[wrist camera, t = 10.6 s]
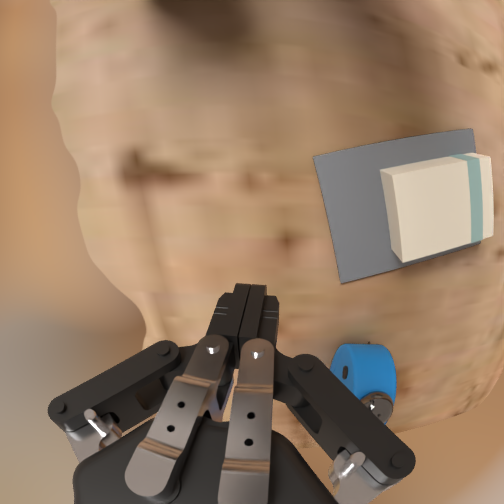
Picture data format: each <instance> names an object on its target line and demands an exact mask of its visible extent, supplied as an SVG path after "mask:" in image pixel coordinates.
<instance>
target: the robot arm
mask: <svg viewBox="0 0 504 504" xmlns="http://www.w3.org/2000/svg"><path fill="white" fill-rule="evenodd" d="M278 325H279V302H278V300H277V297H276V296H268V295H267V287H266V285H255V284H252V285H251V284H241V283H236V285H235V288H234V291H233V293H224V294H223V295H222V296H221V297H220V298H219V300H218V302H217V305H216V308H215V311H214V314H213V316H212V319H211V322H210V325H209V327H208V330H207V333H206V336H205V337H203V338H202V339H201V340H200V341H199V342H198V343H197V344H195V345H192V346H185V347H178V346H177V345H176V344H175V343H174V342H172V341H168V340H164V341H159V342H157V343H155V344H153V345H151V346H150V347H148V348H146V349H144V350H143V351H141V352H139V353H137V354H135V355H134V356H132V357H130V358H129V359H126V360H125V361H123V362H121V363H119V364H117V365H116V366H114V367H112V368H110V369H108V370H107V371H105V372H103V373H101V374H99V375H97V376H96V377H94V378H92V379H90V380H88V381H86V382H84V383H83V384H81V385H79V386H77V387H75V388H73V389H71V390H70V391H67V392H66V393H64V394H62V395H60V396H58V397H56V398H54V399H53V400H52V401H51V403H50V404H49V407H48V414H49V417H50V419H51V420H52V421H53V422H55V423H56V424H57V425H58V426H59V427H60V428H61V429H62V430H63V431H64V432H65V433H66V435H67V438H68V440H69V442H70V444H71V446H72V448H73V451H74V453H75V455H76V457H77V459H78V461H79V465H78V466H77V467H76V470H75V472H74V475H73V489H74V504H368V503H369V502H371V501H372V500H373V499H374V498H376V497H377V496H378V495H379V494H380V493H382V492H383V491H385V490H387V489H389V488H391V487H392V486H394V485H395V484H397V483H398V482H400V481H401V480H402V479H403V478H404V477H406V476H407V475H409V474H410V473H411V472H412V470H413V469H414V466H415V462H416V460H415V455H414V453H413V451H412V450H411V449H410V448H409V447H408V446H407V445H406V444H405V443H403V442H402V441H401V440H400V439H399V438H398V437H397V436H396V435H395V434H394V433H393V432H392V431H391V430H390V429H389V428H388V427H387V426H386V425H385V424H384V423H383V422H382V421H381V420H380V419H379V418H378V417H376V416H375V415H374V414H373V413H372V412H371V411H370V410H369V409H368V408H367V407H366V406H365V405H364V404H363V403H362V402H361V401H360V400H359V399H358V398H357V397H356V396H355V395H354V394H353V393H352V392H351V391H350V390H349V389H348V388H347V387H346V386H345V385H344V384H343V383H342V382H341V381H340V380H339V379H338V378H337V377H336V376H335V375H334V374H333V373H332V372H331V371H330V370H329V369H328V368H327V367H326V366H325V365H324V364H323V363H322V362H321V361H320V360H319V359H318V358H317V357H315V356H313V355H310V354H301V355H298V356H296V357H294V358H290V357H287V356H285V355H283V354H281V353H280V352H279V351H278V350H277V349H276V342H277V333H278ZM234 369H239V371H238V379H237V386H235V388H234V393H233V400H232V407H231V415H230V421H228V422H222V419H223V413H224V410H225V407H226V404H227V401H228V398H229V395H230V392H231V389H232V386H233V383H234V377H233V373H234ZM273 399H275V400H278V401H281V402H283V403H286V405H287V407H288V408H289V409H290V411H291V412H292V413H293V414H294V416H295V417H296V418H297V419H298V420H299V422H300V423H301V424H302V425H303V426H304V428H305V429H306V430H307V431H308V432H309V434H310V435H311V436H312V437H313V438H314V439H315V441H316V442H317V443H318V444H319V445H320V446H321V447H322V449H323V450H324V451H325V452H326V453H327V454H328V456H329V457H330V458H331V459H332V460H333V463H332V464H331V466H330V468H329V471H328V475H329V479H330V480H331V482H332V484H333V487H334V492H333V495H331V493H330V492H329V491H328V489H327V488H326V487H325V486H324V484H323V483H322V482H321V481H320V479H319V478H318V477H317V475H316V474H315V473H314V472H313V470H312V469H311V468H310V466H309V465H308V464H307V462H306V461H305V460H304V459H303V457H302V456H301V454H300V453H299V452H298V450H297V449H296V448H295V446H294V445H293V444H292V443H291V442H290V441H289V440H288V439H287V438H286V437H284V436H283V435H281V434H280V433H278V432H276V431H274V430H271V429H272V405H273ZM157 412H158V413H157ZM155 413H157V415H156V417H155V418H153V419H150V420H148V421H147V422H145V423H144V424H142V425H141V426H139V427H137V428H136V429H134V430H133V431H131V432H129V433H128V434H126V435H125V436H123V437H121V436H122V433H123V432H124V431H126V430H128V429H130V428H131V427H133V426H135V425H137V424H138V423H140V422H142V421H143V420H145V419H147V418H148V417H150V416H152V415H153V414H155Z"/></svg>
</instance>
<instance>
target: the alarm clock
mask: <svg viewBox="0 0 504 504" xmlns="http://www.w3.org/2000/svg"><path fill="white" fill-rule="evenodd" d="M330 371H331V372H332V373H333V374H334V375H335V376H336V377H337V378H338V379H339V380H340V381H341V382H342V383H343V384H344V385H345V386H346V387H347V388H348V389H349V390H350V391H351V392H352V393H353V394H354V395H355V396H356V397H357V398H358V399H359V400H360V401H361V402H362V403H363V404H364V405H365V406H366V407H367V408H368V409H369V410H370V411H371V412H372V413H373V414H374V415H375V416H376V417H378V418H379V419H380V420H381V421H382V422H383V423H384V424H386V423H387V421H388V419H389V418H390V416H391V415H392V412H393V406H394V402H395V397H396V384H397V382H396V370H395V365H394V361H393V358H392V356H391V354H390V352H389V351H388V349H387V348H386V347H384V346H383V345H379V344H370V342H368V344H343V345H341V346H340V347H339V348H338V350H337V351H336V353H335V355H334V358H333V361H332V364H331V368H330Z"/></svg>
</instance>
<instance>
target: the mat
mask: <svg viewBox="0 0 504 504" xmlns="http://www.w3.org/2000/svg"><path fill="white" fill-rule="evenodd" d="M466 153H476V147H475V140H474V134H473V129H463V130H454V131H447V132H439V133H432V134H426V135H419V136H413V137H407V138H401V139H395V140H390V141H384V142H379V143H374V144H369V145H364V146H359V147H354V148H349V149H345V150H340V151H336V152H331V153H327V154H322V155H318V156H314V157H313V160H314V164H315V168H316V172H317V176H318V180H319V184H320V188H321V192H322V196H323V200H324V204H325V209H326V213H327V218H328V222H329V227H330V231H331V236H332V241H333V246H334V251H335V256H336V261H337V267H338V272H339V277H340V282H341V283H345V282H349V281H353V280H356V279H360V278H364V277H368V276H372V275H376V274H379V273H383V272H387V271H390V270H394V269H398V268H401V267H405V266H408V265H412V264H415V263H419V262H422V261H426V260H429V259H432V258H436V257H439V256H442V255H446V254H449V253H452V252H455V251H459V250H462V249H465V248H468V247H471V246H474V245H477V244H480V243H481V240H480V241H477V242H474V243H469V244H466V245H462V246H459V247H456V248H452V249H449V250H446V251H442V252H439V253H436V254H432V255H429V256H425V257H422V258H418V259H415V260H411V261H408V262H404V263H402V261H401V260H400V259H399V258H398V256H397V255H396V254H395V253H394V251H393V250H392V249H391V240H390V232H389V224H388V217H387V210H386V203H385V197H384V191H383V185H382V180H381V174H380V170H381V169H386V168H391V167H396V166H401V165H406V164H411V163H416V162H421V161H426V160H432V159H437V158H443V157H449V156H452V155H457V154H466Z"/></svg>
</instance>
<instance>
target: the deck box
mask: <svg viewBox="0 0 504 504" xmlns="http://www.w3.org/2000/svg"><path fill="white" fill-rule="evenodd" d="M380 174H381V180H382V185H383V191H384V197H385V203H386V210H387V217H388V224H389V232H390V240H391V249H392V250H393V251H394V253H395V254H396V255H397V256H398V258H399V259H400V260H401V261H402V263H404V262H408V261H411V260H415V259H418V258H422V257H425V256H429V255H432V254H436V253H439V252H442V251H446V250H449V249H452V248H456V247H459V246H462V245H466V244H469V243H474V242H477V241H480V240H483V239H485V238H488V237H491V236H493V223H494V209H493V182H492V169H491V158H490V157H489V156H485V155H481V154H476V153H466V154H457V155H452V156H449V157H443V158H437V159H432V160H426V161H421V162H416V163H411V164H406V165H401V166H396V167H391V168H386V169H381V170H380Z"/></svg>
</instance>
